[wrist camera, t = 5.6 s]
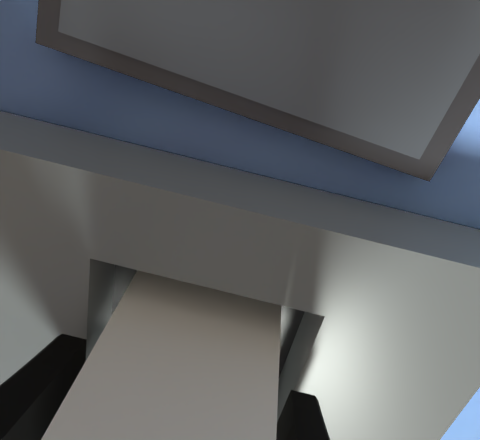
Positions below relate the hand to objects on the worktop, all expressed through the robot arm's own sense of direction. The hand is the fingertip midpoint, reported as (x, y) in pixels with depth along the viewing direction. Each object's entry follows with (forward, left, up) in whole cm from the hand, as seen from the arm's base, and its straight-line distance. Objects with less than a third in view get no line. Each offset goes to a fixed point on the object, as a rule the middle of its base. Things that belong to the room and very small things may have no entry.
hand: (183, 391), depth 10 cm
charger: (0, 0, -2) cm, 3 cm away
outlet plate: (-1, +1, -3) cm, 3 cm away
